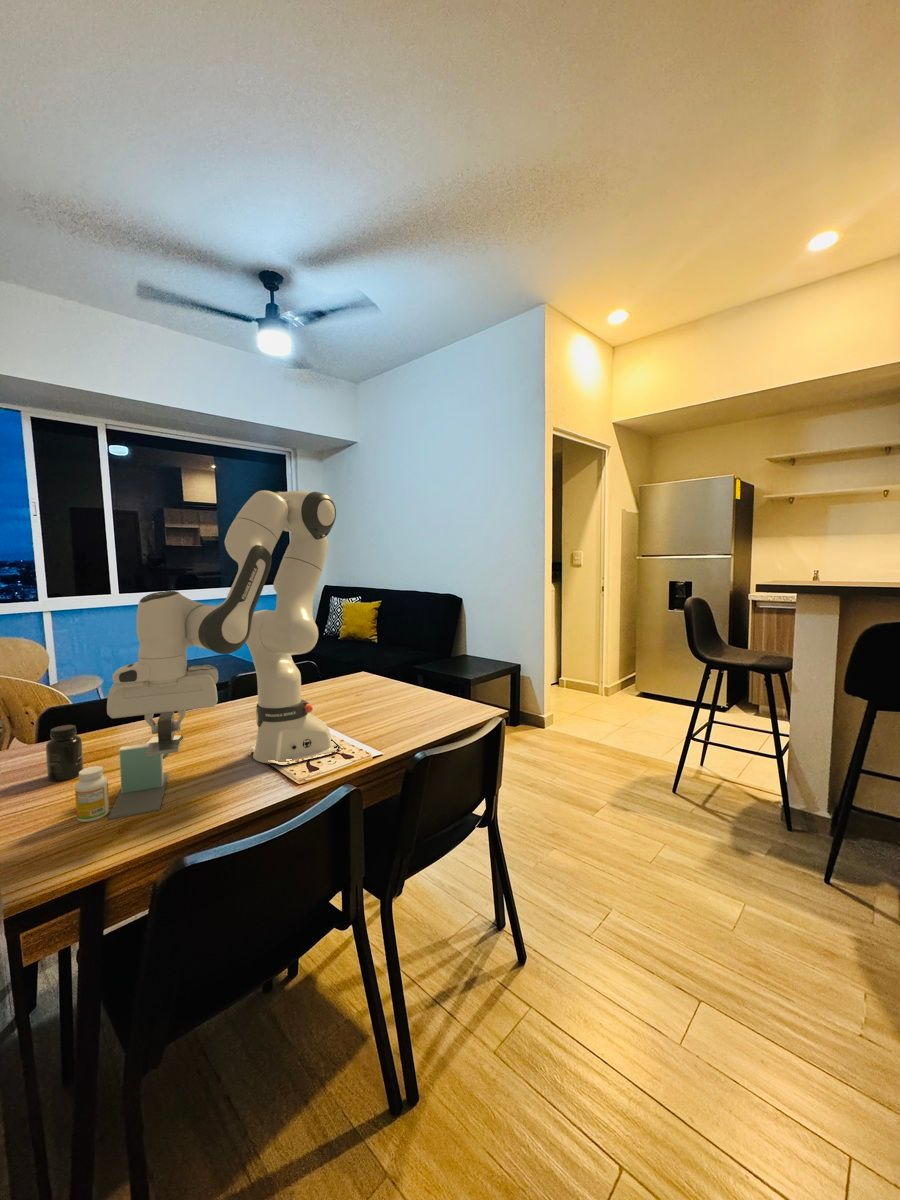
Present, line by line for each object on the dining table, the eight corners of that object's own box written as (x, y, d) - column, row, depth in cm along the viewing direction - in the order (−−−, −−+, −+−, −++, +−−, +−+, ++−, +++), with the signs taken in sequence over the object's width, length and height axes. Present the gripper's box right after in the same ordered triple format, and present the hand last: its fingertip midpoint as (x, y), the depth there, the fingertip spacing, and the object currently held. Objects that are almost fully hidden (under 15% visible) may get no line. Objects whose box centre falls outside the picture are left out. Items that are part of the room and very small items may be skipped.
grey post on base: (154, 735, 106) (153, 713, 105) (182, 731, 108) (181, 710, 107) (145, 756, 94) (144, 732, 94) (178, 752, 97) (177, 727, 96)
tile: (163, 782, 113) (161, 741, 112) (162, 787, 111) (160, 744, 110) (123, 789, 110) (120, 746, 109) (121, 794, 108) (118, 750, 107)
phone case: (163, 762, 127) (184, 739, 143) (162, 757, 127) (184, 734, 143) (126, 765, 125) (152, 741, 141) (125, 759, 125) (151, 736, 141)
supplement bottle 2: (88, 809, 102) (85, 764, 101) (115, 808, 102) (112, 764, 102) (70, 823, 97) (67, 776, 96) (98, 822, 97) (95, 775, 96)
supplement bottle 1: (88, 774, 118) (85, 726, 117) (53, 785, 113) (50, 735, 112) (77, 767, 122) (74, 721, 121) (43, 777, 117) (40, 729, 116)
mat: (168, 773, 119) (168, 772, 119) (159, 810, 102) (159, 808, 102) (125, 780, 115) (125, 779, 115) (108, 819, 98) (108, 817, 98)
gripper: (217, 661, 110) (220, 720, 111) (109, 669, 101) (113, 733, 102) (217, 666, 104) (220, 729, 105) (102, 676, 95) (106, 744, 96)
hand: (166, 731), depth 103 cm, fingers closed on grey post on base, 2 cm apart
